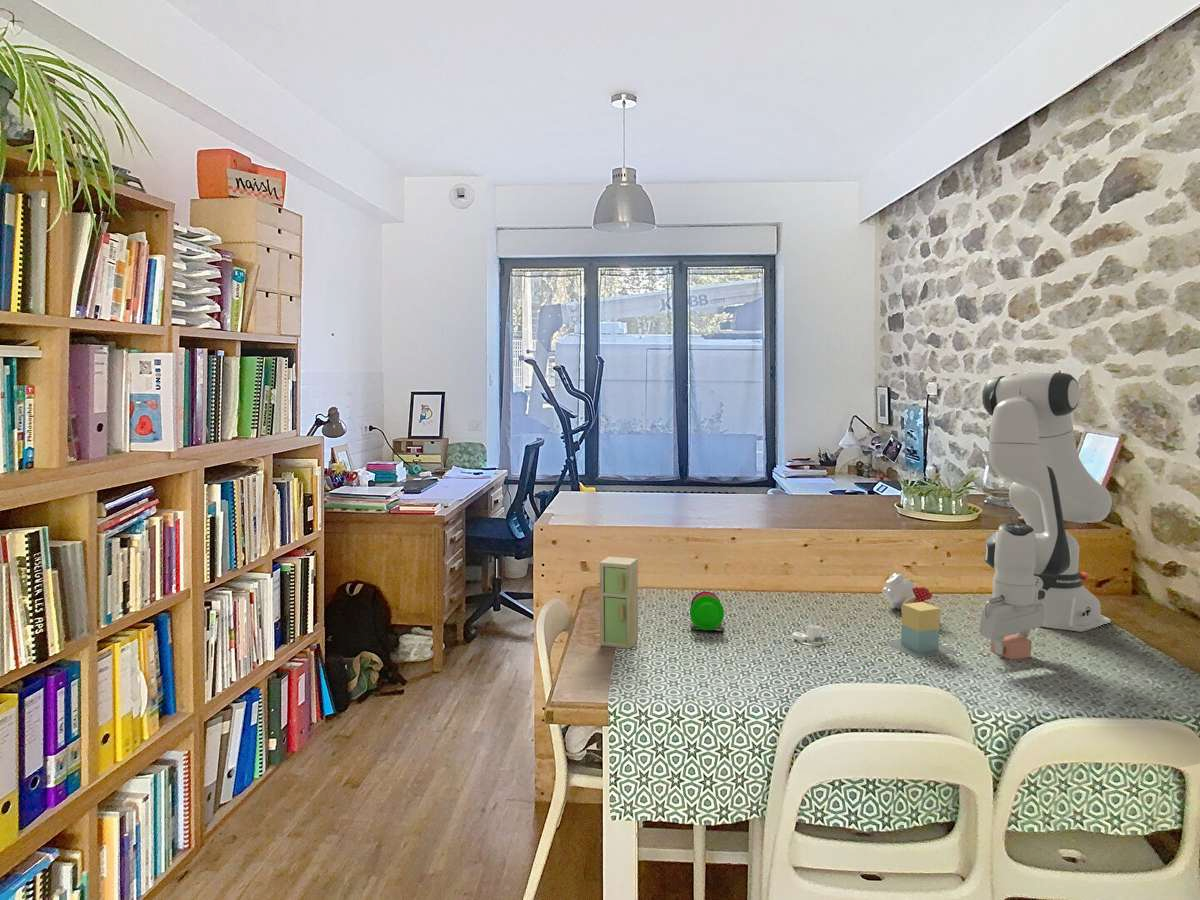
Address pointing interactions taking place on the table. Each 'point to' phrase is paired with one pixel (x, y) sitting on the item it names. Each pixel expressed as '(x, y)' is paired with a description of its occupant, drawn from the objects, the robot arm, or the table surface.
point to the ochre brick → (921, 616)
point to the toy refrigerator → (618, 602)
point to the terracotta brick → (1015, 647)
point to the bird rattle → (919, 596)
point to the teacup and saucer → (809, 635)
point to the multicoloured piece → (706, 611)
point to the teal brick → (920, 639)
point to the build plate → (915, 654)
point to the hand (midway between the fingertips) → (1010, 650)
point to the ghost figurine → (898, 590)
